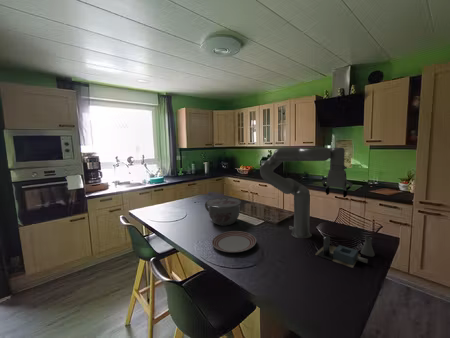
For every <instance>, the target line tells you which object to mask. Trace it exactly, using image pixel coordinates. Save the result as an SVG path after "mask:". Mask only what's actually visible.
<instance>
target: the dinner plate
mask: <svg viewBox="0 0 450 338" xmlns="http://www.w3.org/2000/svg"><path fill="white" fill-rule="evenodd" d="M256 244H257V238H256V237H255V235H253V234H251V233H249V232H245V231H239V230H231V231H230V230H229V231H225V232H222V233H220V234H217V235H215V236H214V237H213V238H212V240H211V245H212V247H213V248H214V249H215V250H218V251H221V252H225V253H242V252H246V251H249V250H250V249H252V248H253V247H255V245H256Z"/></svg>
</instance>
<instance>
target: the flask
mask: <svg viewBox="0 0 450 338" xmlns="http://www.w3.org/2000/svg"><path fill="white" fill-rule="evenodd" d="M364 239H365V241H364V244H363V246H362V248H361V249H360V253H361V255H364V256H367V257H374V256H376V253H375V251H374V249H373V244H372V239H373V238H372V236H371V237H370V236H364Z"/></svg>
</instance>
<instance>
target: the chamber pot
mask: <svg viewBox="0 0 450 338" xmlns="http://www.w3.org/2000/svg"><path fill="white" fill-rule="evenodd" d="M204 203H205V204H204V207H205V210H206V211H207V213H208V216H209V217H210V219H211V221H212V222H213V223H214V224H215V225H217V226H223V225H225V226H230V225H233V224H235V223H236V221H237V220H238V218H239V216H240V205H241V204H242V201H241V200H240V199H238V198H234V197H226V196H225V197H224V196H223V197H217V198H212V199H210V200H209V199H208V200H206V201H205V202H204Z"/></svg>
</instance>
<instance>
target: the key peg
mask: <svg viewBox="0 0 450 338" xmlns="http://www.w3.org/2000/svg"><path fill="white" fill-rule="evenodd" d="M330 244H331V237H330V236H329V235H324V236H323V246H322V247H323V255H324V256H330Z"/></svg>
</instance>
